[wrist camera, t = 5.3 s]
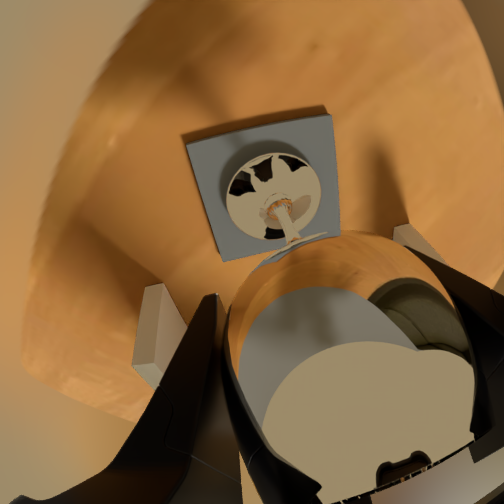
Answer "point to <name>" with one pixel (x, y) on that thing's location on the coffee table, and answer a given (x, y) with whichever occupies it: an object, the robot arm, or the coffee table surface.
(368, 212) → the coffee table surface
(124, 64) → the coffee table surface
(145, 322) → the corner wall
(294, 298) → the wineglass
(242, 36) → the coffee table surface
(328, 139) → the felt mat
